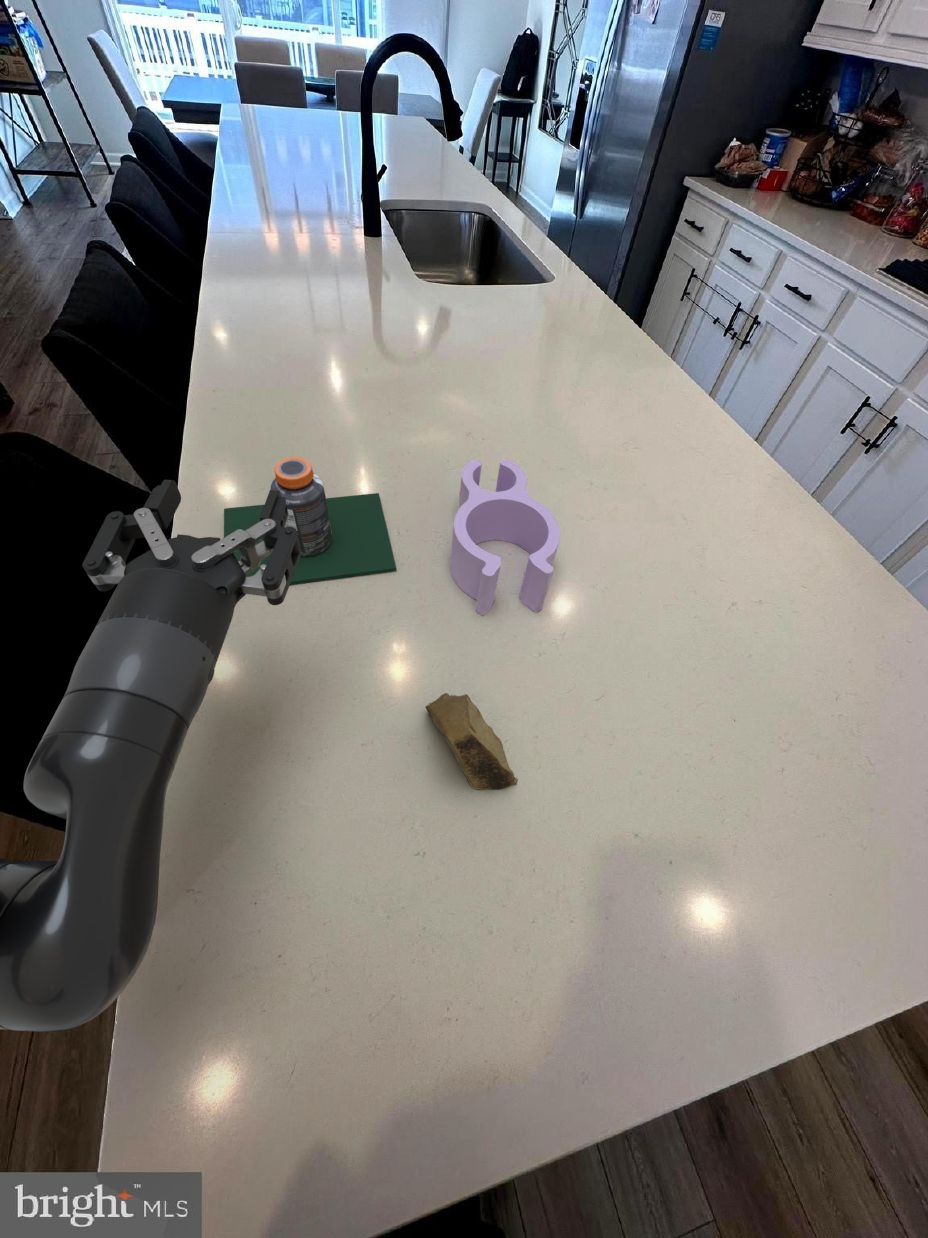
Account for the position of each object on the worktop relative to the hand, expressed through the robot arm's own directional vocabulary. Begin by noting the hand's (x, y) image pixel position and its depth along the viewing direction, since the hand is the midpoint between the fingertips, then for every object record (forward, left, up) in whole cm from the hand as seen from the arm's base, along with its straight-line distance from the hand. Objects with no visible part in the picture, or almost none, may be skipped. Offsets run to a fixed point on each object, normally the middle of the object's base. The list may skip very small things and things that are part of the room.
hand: (225, 492), depth 47 cm
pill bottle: (+5, +12, -19) cm, 23 cm away
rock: (+18, -18, -20) cm, 32 cm away
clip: (+28, +7, -20) cm, 35 cm away
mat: (+5, +13, -19) cm, 24 cm away
